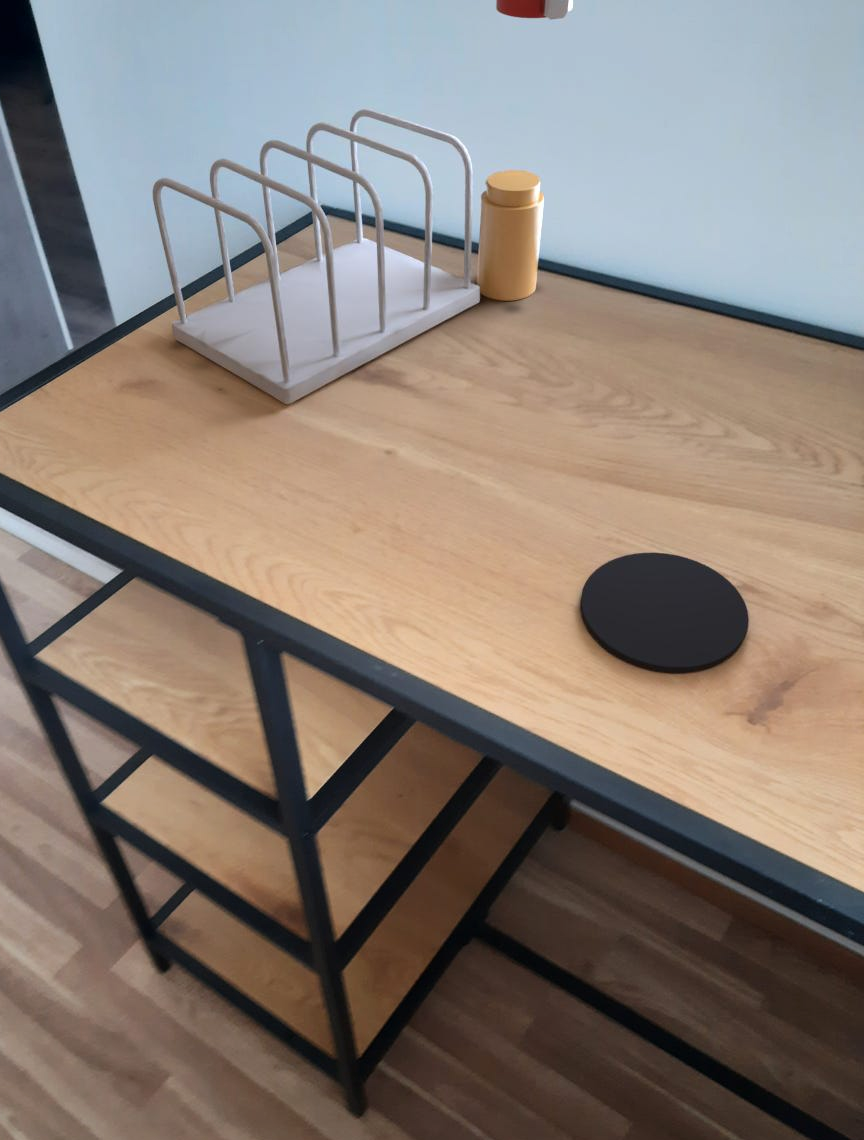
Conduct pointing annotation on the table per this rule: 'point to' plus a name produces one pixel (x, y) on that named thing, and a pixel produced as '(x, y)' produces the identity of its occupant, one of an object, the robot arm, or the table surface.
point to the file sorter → (321, 280)
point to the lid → (523, 8)
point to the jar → (509, 235)
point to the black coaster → (664, 612)
